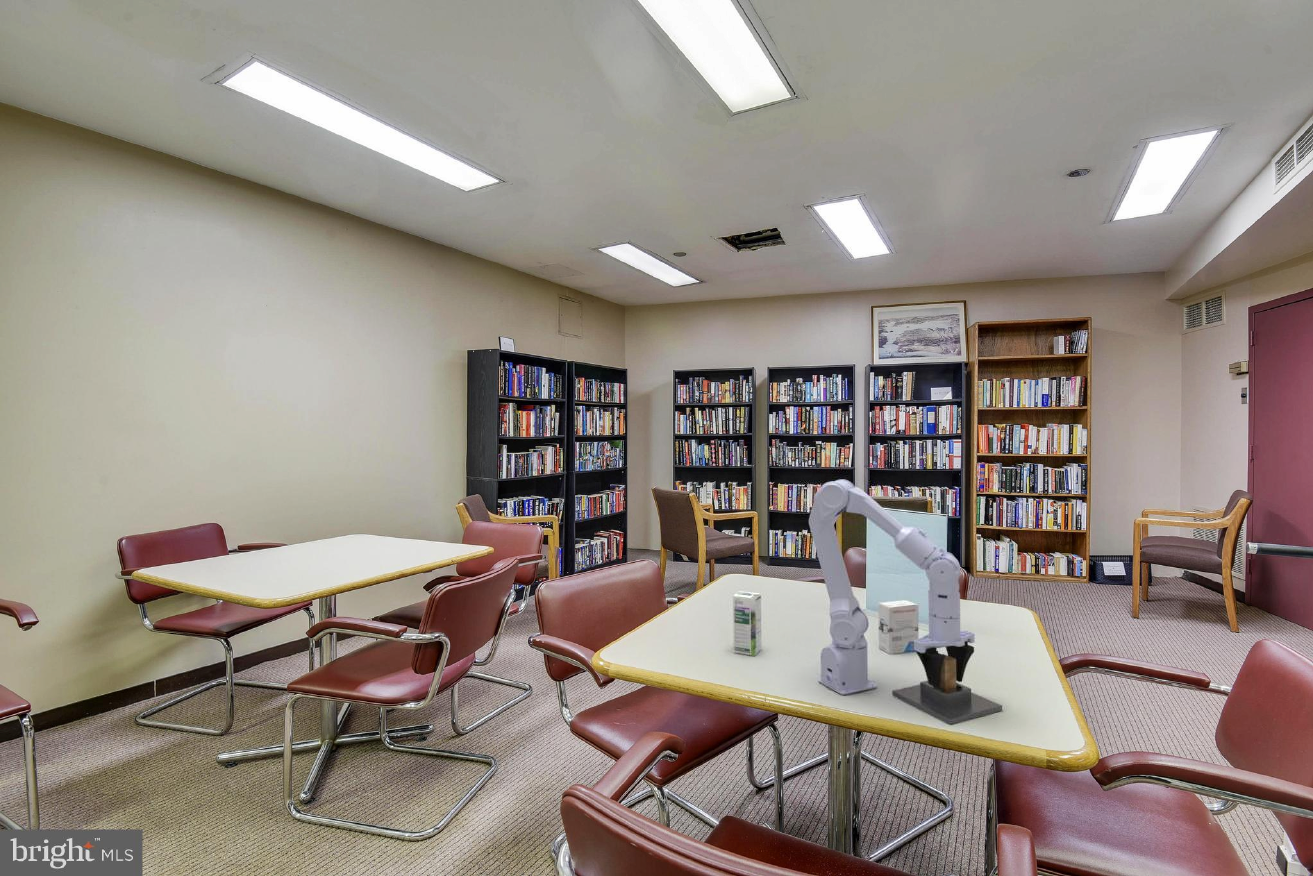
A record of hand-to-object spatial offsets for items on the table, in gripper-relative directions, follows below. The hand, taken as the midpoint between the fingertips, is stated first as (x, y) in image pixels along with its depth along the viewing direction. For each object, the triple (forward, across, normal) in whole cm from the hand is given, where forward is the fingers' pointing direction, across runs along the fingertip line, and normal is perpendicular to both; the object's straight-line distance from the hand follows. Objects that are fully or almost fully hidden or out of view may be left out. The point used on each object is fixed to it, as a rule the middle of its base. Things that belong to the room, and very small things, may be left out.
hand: (945, 682), depth 119 cm
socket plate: (+4, 0, 0) cm, 4 cm away
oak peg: (+3, 0, 0) cm, 3 cm away
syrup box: (+4, -20, +42) cm, 47 cm away
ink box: (+4, +15, +27) cm, 31 cm away
